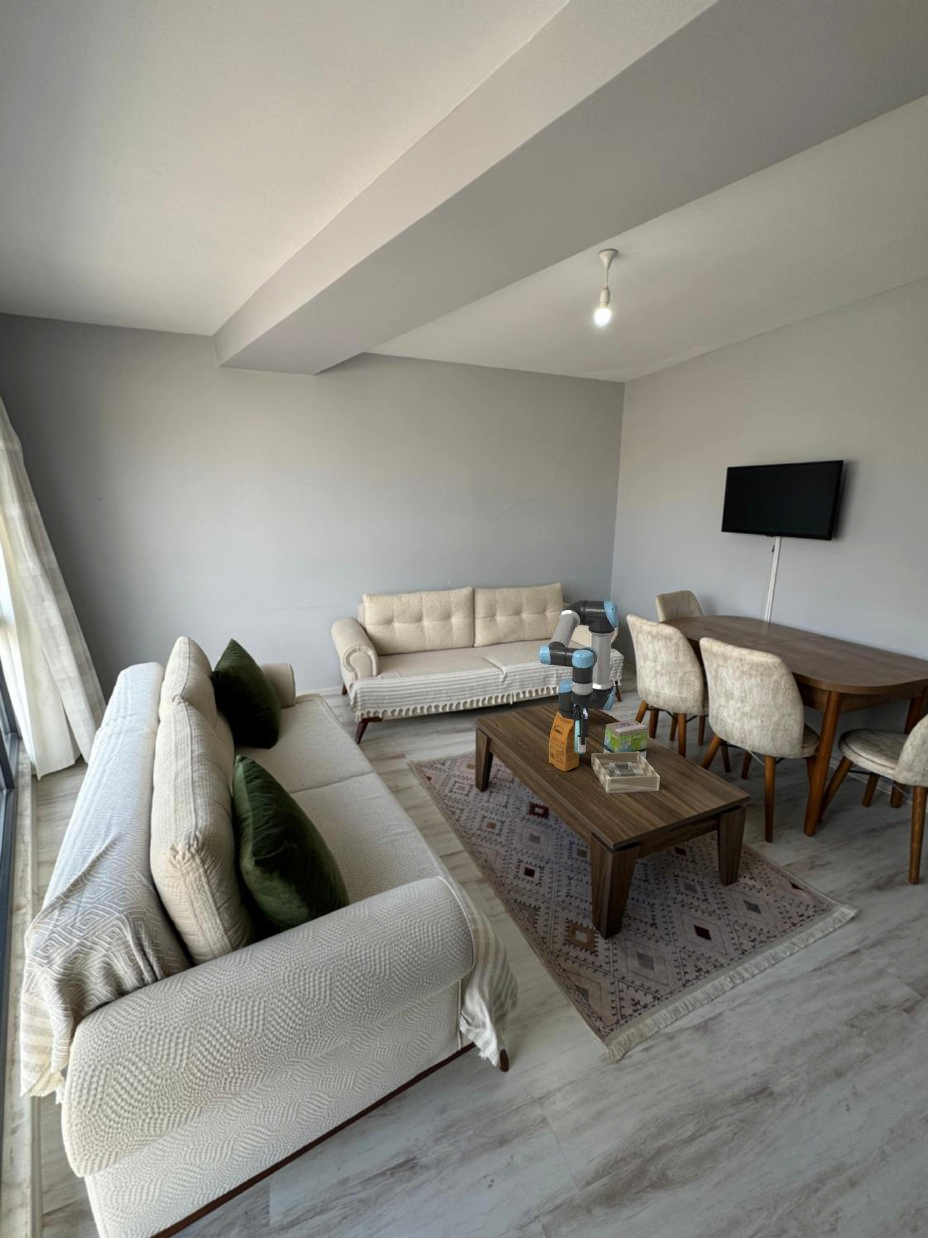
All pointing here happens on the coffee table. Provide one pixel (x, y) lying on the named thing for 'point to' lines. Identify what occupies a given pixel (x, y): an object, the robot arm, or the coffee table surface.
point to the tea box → (626, 737)
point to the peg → (577, 737)
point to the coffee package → (563, 744)
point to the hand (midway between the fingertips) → (579, 748)
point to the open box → (624, 772)
